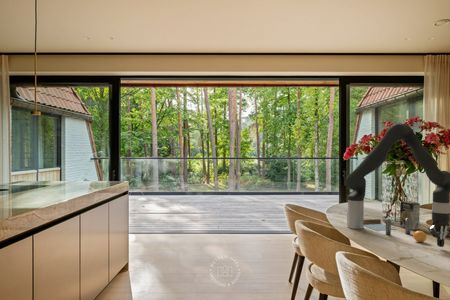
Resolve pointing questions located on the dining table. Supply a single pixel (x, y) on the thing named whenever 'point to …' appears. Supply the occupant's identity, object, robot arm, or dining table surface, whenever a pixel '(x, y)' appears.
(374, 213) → the dining table surface
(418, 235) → the ball
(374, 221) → the stopper
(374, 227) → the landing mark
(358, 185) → the robot arm
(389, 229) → the post
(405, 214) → the coffee box
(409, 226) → the post
